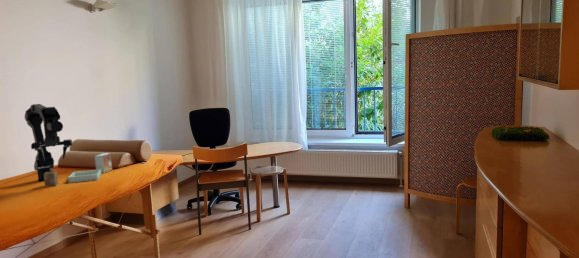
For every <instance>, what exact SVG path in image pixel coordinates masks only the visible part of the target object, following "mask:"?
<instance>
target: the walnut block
mask: <svg viewBox="0 0 579 258" xmlns="http://www.w3.org/2000/svg"><path fill="white" fill-rule="evenodd" d="M52 171H53V170H52ZM43 182H44V187H45V186H52V187H56V186H58V185H59V181H58V172H57V171H56V170H55V171H53V172H46V173H44V181H43Z"/></svg>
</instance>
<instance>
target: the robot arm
mask: <svg viewBox="0 0 579 258" xmlns="http://www.w3.org/2000/svg"><path fill="white" fill-rule="evenodd" d="M24 120H25V121H26V124H27V126H29V127H30V128H31V130H32V131H31V132H32V135H33V139H34V142H33V143H31V145H30V148H31V150H34V151H36V152H37V153H36V155H35V157H34V158H35V161H34V164H33V170H34V171H36V173H37V178H38V179H37V182H45V181H44V173H46V172H53V170H52V169H54V168H55V167H54V166H55V159H54V158H53V156H52V152H50V151H48V149H47V148H49V147H56V146H62V148H63V149H62V159H63V160H65V158H66V153H67V151H68V148H70V147H71V146H73V139H71V138H70V139H63V140H62V141H61V138H60V136H58V133H60V132H61V131H63V128H64V125H63V123H62V122H61V121H60V120H61V115H60V113H59V111H58V109H57V108H56V107H55V106H49V107H47V106H45V105H43V104H40V103H35V104H30V107H29V108H28V109H27V110H25V114H24ZM42 123H43V128H42ZM42 129H44V133H43V130H42Z"/></svg>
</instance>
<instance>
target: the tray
mask: <svg viewBox="0 0 579 258" xmlns="http://www.w3.org/2000/svg"><path fill="white" fill-rule="evenodd" d="M100 175H102V173H101V169H98V170H96V169H90V170H89V169H88V170H80V171H73V172H72V173H71V174H70V175H69V176H68V177H67V178H68V180H67V181H68V183H69V184H71V183H80V182H81V183H82V182H89V181H98V180H99V178H101V176H100Z"/></svg>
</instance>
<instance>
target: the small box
mask: <svg viewBox="0 0 579 258" xmlns="http://www.w3.org/2000/svg"><path fill="white" fill-rule="evenodd" d="M94 164H95V170H98V169H101V174H106V173H108V172H112V171H113V163H112V154H111V152H110V153H107V152H105V153H100V154H97V155H94ZM111 170H112V171H111Z"/></svg>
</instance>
